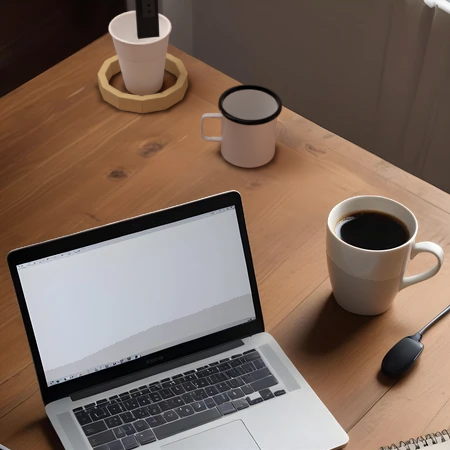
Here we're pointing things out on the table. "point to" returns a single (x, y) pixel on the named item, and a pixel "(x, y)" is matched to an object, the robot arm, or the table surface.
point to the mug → (247, 124)
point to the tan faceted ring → (148, 101)
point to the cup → (140, 53)
